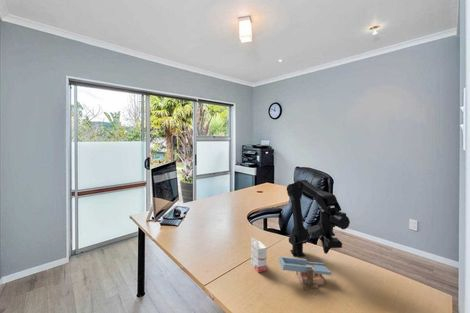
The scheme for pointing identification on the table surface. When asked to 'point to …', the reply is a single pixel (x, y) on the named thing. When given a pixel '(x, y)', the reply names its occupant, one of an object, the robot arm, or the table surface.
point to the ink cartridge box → (258, 255)
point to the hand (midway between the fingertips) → (325, 253)
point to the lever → (302, 265)
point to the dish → (317, 280)
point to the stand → (309, 280)
